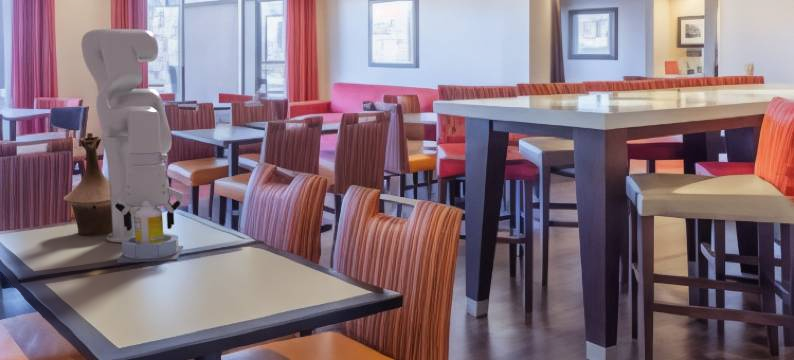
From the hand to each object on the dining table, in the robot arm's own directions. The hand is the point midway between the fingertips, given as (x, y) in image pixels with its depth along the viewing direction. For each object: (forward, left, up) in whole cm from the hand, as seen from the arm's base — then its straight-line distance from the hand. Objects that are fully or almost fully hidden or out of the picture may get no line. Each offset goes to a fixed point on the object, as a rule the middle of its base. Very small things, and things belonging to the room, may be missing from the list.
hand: (149, 228), depth 203 cm
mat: (0, 0, -7) cm, 7 cm away
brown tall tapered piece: (-31, -19, -7) cm, 37 cm away
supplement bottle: (0, 0, -6) cm, 6 cm away
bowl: (0, 0, -6) cm, 6 cm away
